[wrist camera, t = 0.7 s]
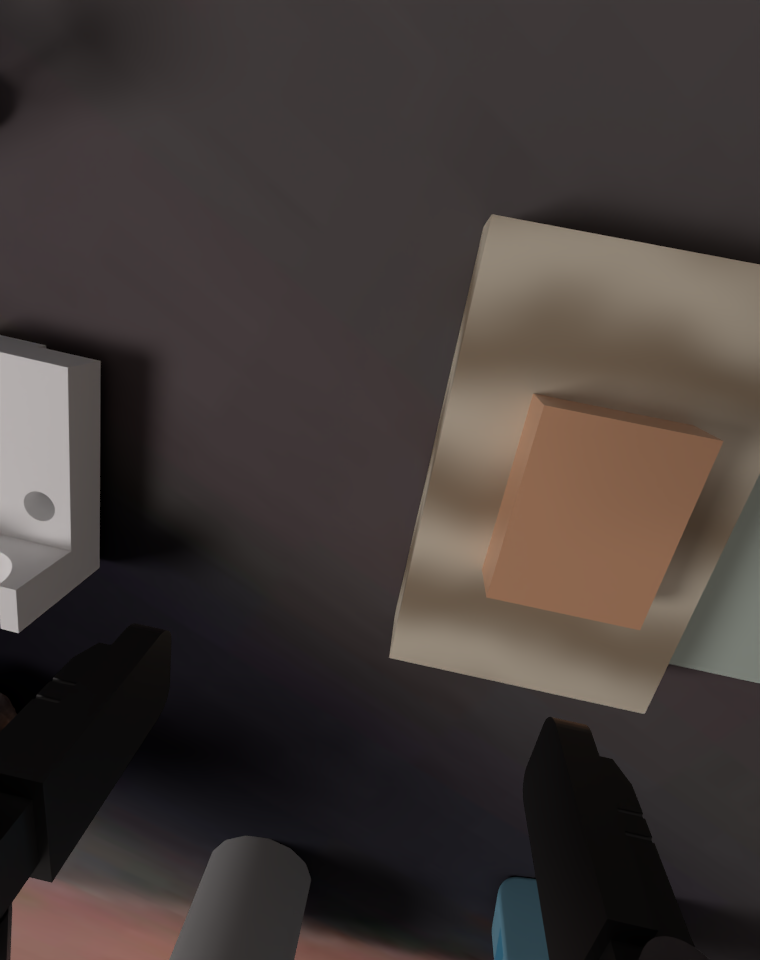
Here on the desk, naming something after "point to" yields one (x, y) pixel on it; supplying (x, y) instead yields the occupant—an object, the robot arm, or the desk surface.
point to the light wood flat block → (590, 380)
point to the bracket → (46, 477)
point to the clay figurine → (6, 711)
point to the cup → (246, 904)
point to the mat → (729, 606)
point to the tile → (594, 510)
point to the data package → (518, 922)
